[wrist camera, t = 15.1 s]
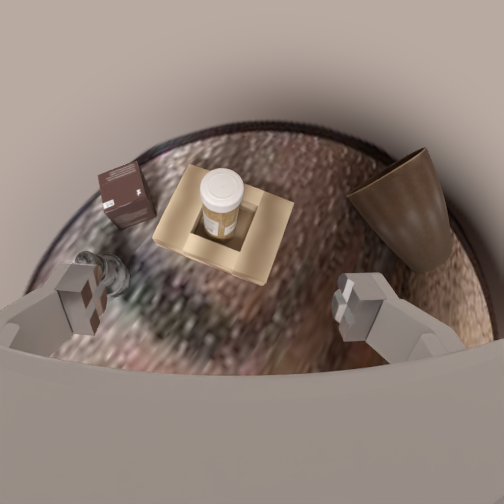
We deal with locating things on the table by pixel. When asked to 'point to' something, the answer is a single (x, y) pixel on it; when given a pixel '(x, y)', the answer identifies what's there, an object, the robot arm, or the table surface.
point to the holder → (244, 240)
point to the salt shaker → (108, 271)
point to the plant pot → (407, 211)
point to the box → (126, 196)
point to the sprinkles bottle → (221, 203)
